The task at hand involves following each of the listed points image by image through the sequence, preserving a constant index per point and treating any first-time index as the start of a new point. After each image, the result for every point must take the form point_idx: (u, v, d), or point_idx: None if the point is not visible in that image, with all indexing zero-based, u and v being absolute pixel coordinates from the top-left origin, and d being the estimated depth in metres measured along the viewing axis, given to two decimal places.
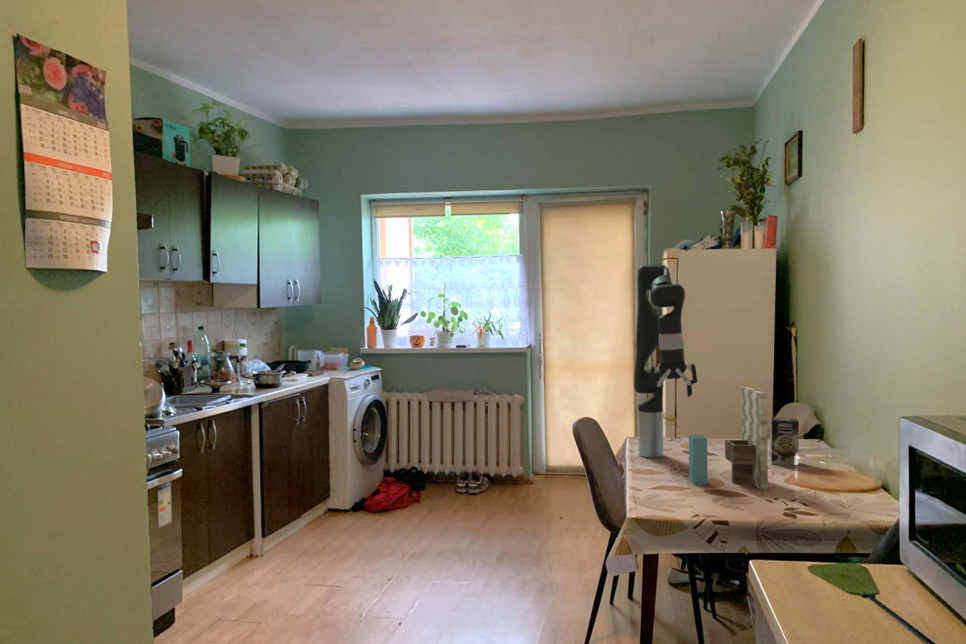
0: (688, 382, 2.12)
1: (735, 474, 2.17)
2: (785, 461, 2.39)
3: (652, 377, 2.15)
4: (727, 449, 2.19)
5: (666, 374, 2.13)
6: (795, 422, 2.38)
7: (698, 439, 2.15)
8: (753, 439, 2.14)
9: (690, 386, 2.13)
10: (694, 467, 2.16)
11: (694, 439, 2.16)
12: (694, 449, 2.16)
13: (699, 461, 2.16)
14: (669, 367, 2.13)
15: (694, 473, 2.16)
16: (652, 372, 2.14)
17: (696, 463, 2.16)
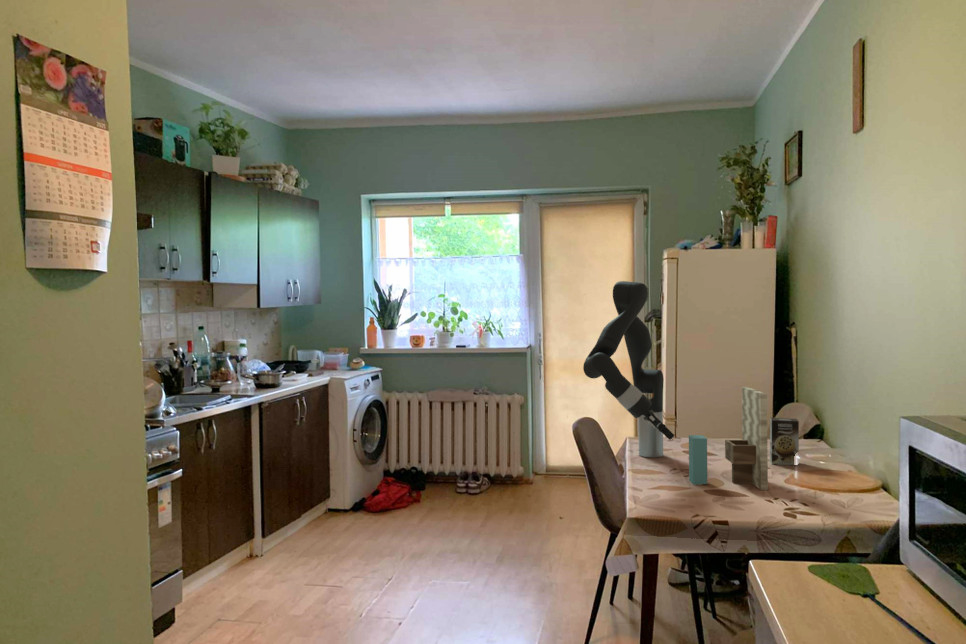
0: None
1: (735, 474, 2.17)
2: (785, 461, 2.39)
3: None
4: (727, 449, 2.19)
5: None
6: (795, 422, 2.38)
7: (698, 439, 2.15)
8: (753, 439, 2.14)
9: (663, 432, 2.14)
10: (694, 467, 2.16)
11: (694, 439, 2.16)
12: (694, 449, 2.16)
13: (699, 461, 2.16)
14: None
15: (694, 473, 2.16)
16: None
17: (696, 463, 2.16)
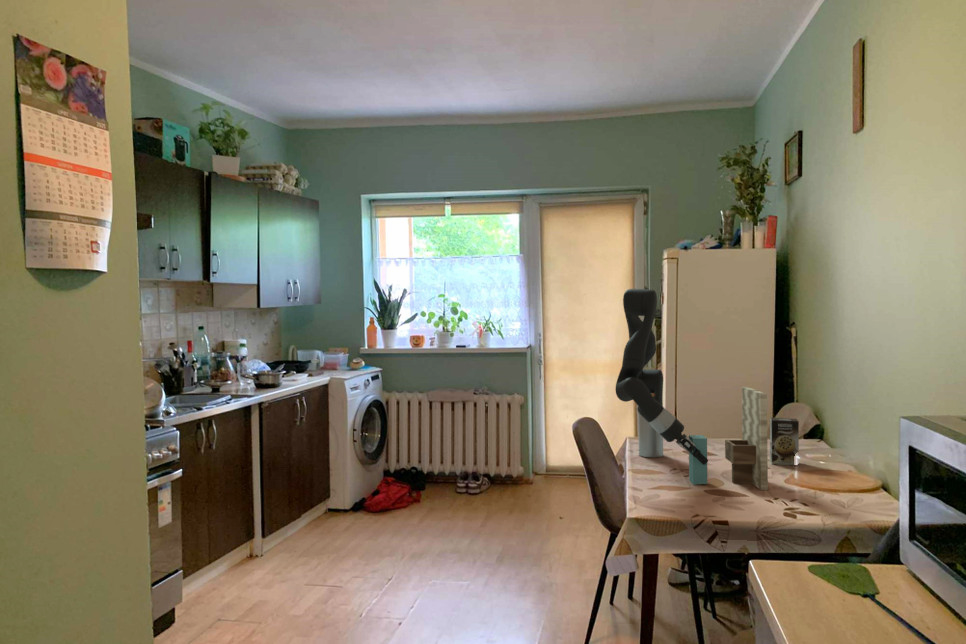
0: None
1: (735, 474, 2.17)
2: (785, 461, 2.39)
3: None
4: (727, 449, 2.19)
5: None
6: (795, 422, 2.38)
7: (698, 439, 2.15)
8: (753, 439, 2.14)
9: (697, 457, 2.15)
10: (694, 467, 2.16)
11: (694, 439, 2.16)
12: (694, 449, 2.16)
13: (699, 461, 2.16)
14: (676, 439, 2.20)
15: (694, 473, 2.16)
16: None
17: (696, 463, 2.16)
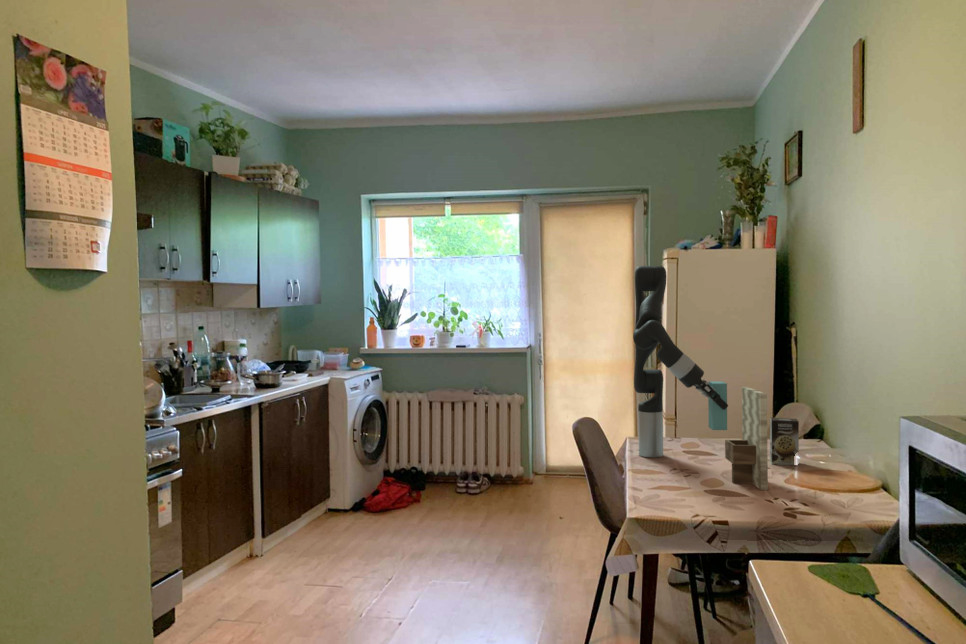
0: None
1: (735, 474, 2.17)
2: (785, 461, 2.39)
3: None
4: (727, 449, 2.19)
5: None
6: (795, 422, 2.38)
7: (718, 384, 2.14)
8: (753, 439, 2.14)
9: (717, 402, 2.14)
10: (714, 412, 2.15)
11: (714, 384, 2.14)
12: (714, 394, 2.14)
13: None
14: (696, 385, 2.19)
15: (714, 418, 2.15)
16: None
17: (716, 408, 2.15)
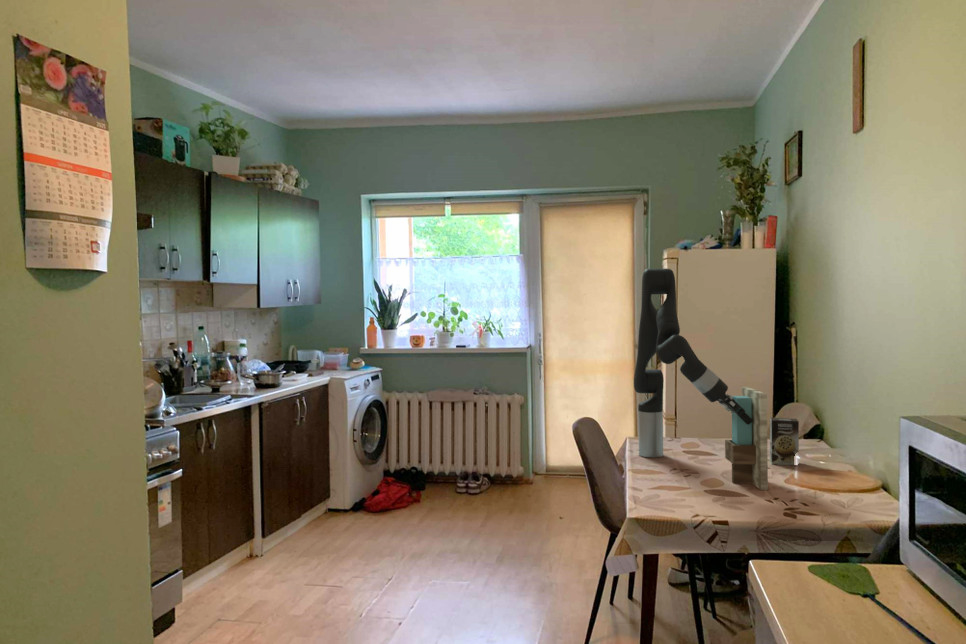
0: (736, 414, 2.14)
1: (735, 474, 2.17)
2: (785, 461, 2.39)
3: None
4: (727, 449, 2.19)
5: (723, 406, 2.19)
6: (795, 422, 2.38)
7: (742, 399, 2.14)
8: (753, 439, 2.14)
9: (741, 417, 2.13)
10: (738, 427, 2.14)
11: (738, 399, 2.14)
12: (738, 409, 2.14)
13: (743, 421, 2.14)
14: (720, 400, 2.18)
15: (738, 433, 2.14)
16: None
17: (740, 423, 2.14)
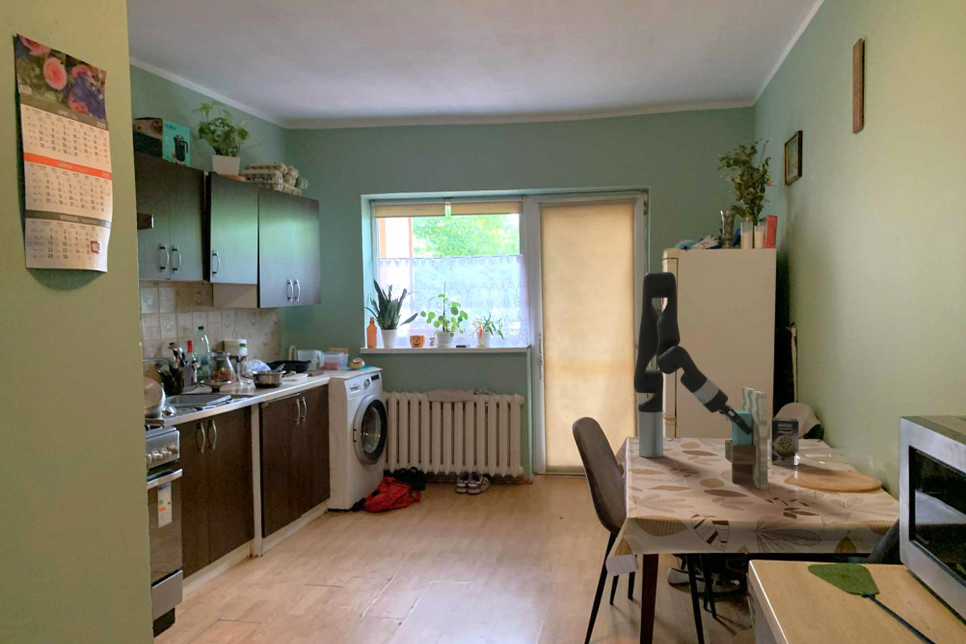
0: None
1: (735, 474, 2.17)
2: (785, 461, 2.39)
3: None
4: (727, 449, 2.19)
5: None
6: (795, 422, 2.38)
7: (742, 414, 2.14)
8: (753, 439, 2.14)
9: (741, 427, 2.13)
10: (738, 442, 2.15)
11: None
12: None
13: (743, 436, 2.14)
14: (720, 410, 2.18)
15: None
16: (719, 411, 2.24)
17: (740, 438, 2.14)
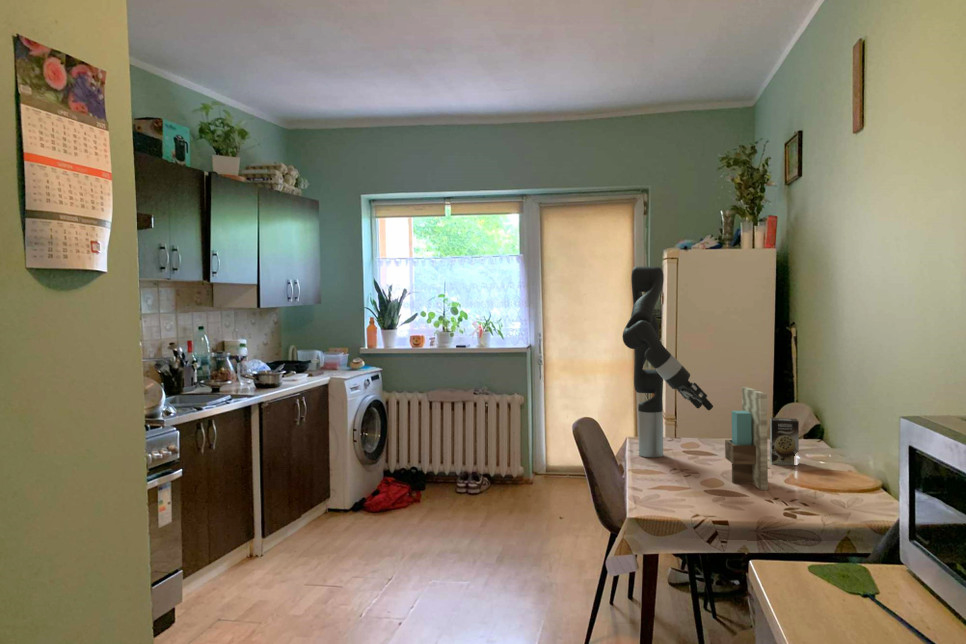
0: (698, 400, 2.15)
1: (735, 474, 2.17)
2: (785, 461, 2.39)
3: (680, 393, 2.25)
4: (727, 449, 2.19)
5: (683, 393, 2.21)
6: (795, 422, 2.38)
7: (742, 414, 2.14)
8: (753, 439, 2.14)
9: (703, 402, 2.14)
10: (738, 442, 2.15)
11: (738, 414, 2.14)
12: (738, 424, 2.14)
13: (743, 436, 2.14)
14: (681, 387, 2.20)
15: None
16: None
17: (740, 438, 2.14)
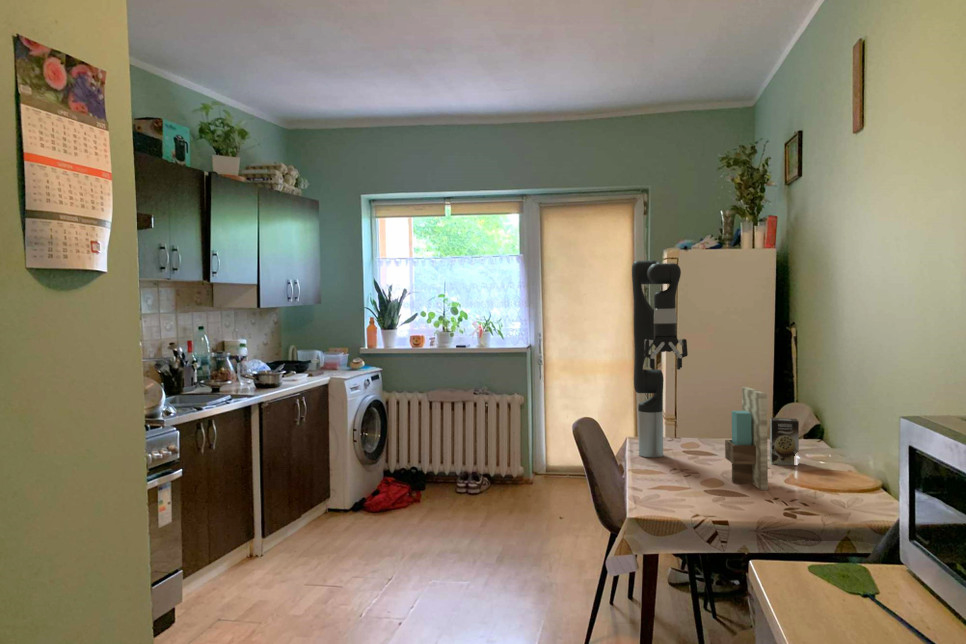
0: (679, 355, 2.26)
1: (735, 474, 2.17)
2: (785, 461, 2.39)
3: (646, 349, 2.27)
4: (727, 449, 2.19)
5: (660, 347, 2.26)
6: (795, 422, 2.38)
7: (742, 414, 2.14)
8: (753, 439, 2.14)
9: (680, 359, 2.27)
10: (738, 442, 2.15)
11: (738, 414, 2.14)
12: (738, 424, 2.14)
13: (743, 436, 2.14)
14: (662, 340, 2.27)
15: None
16: (646, 344, 2.27)
17: (740, 438, 2.14)
